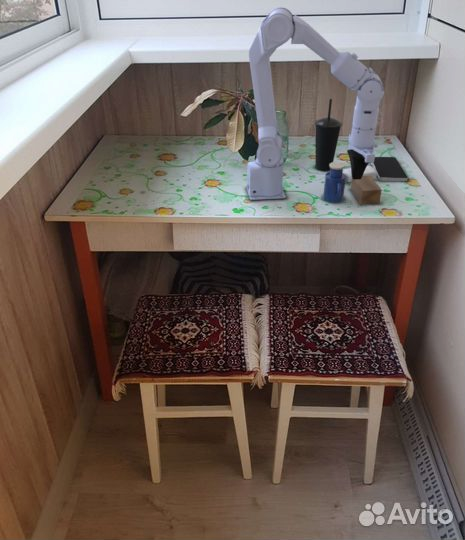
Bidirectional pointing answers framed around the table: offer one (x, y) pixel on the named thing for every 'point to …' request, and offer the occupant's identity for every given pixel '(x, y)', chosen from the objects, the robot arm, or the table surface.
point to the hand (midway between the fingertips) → (356, 178)
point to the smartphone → (388, 169)
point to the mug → (334, 183)
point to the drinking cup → (326, 140)
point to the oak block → (366, 190)
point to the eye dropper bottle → (368, 172)
